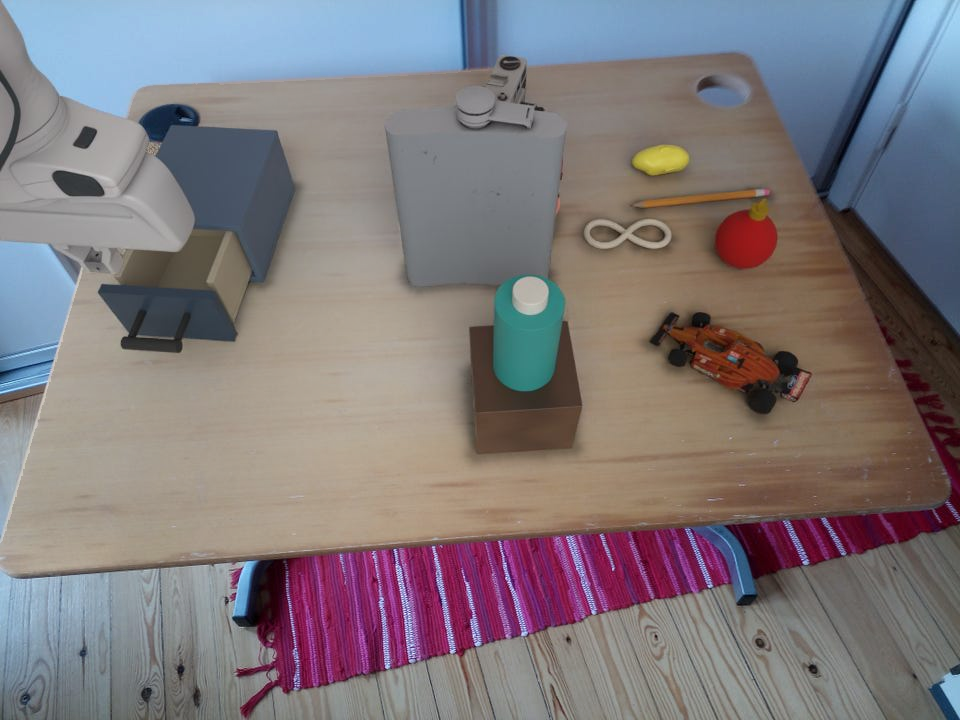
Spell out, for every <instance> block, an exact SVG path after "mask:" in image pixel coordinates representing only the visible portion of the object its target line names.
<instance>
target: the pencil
mask: <svg viewBox="0 0 960 720" xmlns="http://www.w3.org/2000/svg"><path fill="white" fill-rule="evenodd" d="M770 193H771V190H770V188H760V189H759V188H758V189H757V188H756V189H749V190H748V189H747V190H737V191H729V192H727V191H726V192H717V193H707V194H697V195H688V196H676V197H669V198H668V197H667V198H657V199H646V200H642V201H639V202H635V203H634V204H630V205H629V206H630V207H634V208H641V209H648V208H649V209H650V208H658V207H659V208H660V207H669V206H678V205H688V204H690V205H691V204H699V203H709V202H718V201H729V200H737V199H738V200H740V199H749V198H758V197H767V196H770Z"/></svg>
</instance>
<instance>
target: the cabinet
mask: <svg viewBox="0 0 960 720" xmlns="http://www.w3.org/2000/svg"><path fill="white" fill-rule="evenodd" d="M165 134H166V135H165V136H164V138H163V140H162V142H161V144H160V146H159V148H158V150H157V152H156V154H155V155H154V156H155V157H157V158H158V159H159V160H161V161H162V162H163V163H164V164H165V165H166V167H167V168H168V169H169V170H170V172H171V173H172V175H173V176H174V178H175V179H176V181H177V182H178V184H179V186H180V188H181V189H182V191H183V193H184V195H185V196H186V198H187V200H188V202H189V204H190V206H191V208H192V210H193V213H194V216H195V222H194V226H193V229H203V230H221V231H236V233H237V235H238V238H239V240H240V242H241V244H242V247H243V249H244V251H245V253H246V256H247V258H248V260H249V262H250V265H251V267H252V269H253V270H252V273H251V276H250V279H249V281H248V282H254V283H255V282H256V283H264V282H265V279H266V277H267V274H268V271H269V268H270V264H271V262H272V259H273V256H274V253H275V250H276V248H277V245H278V241H279V238H280V235H281V232H282V230H283V227H284V224H285V220H286V218H287V214H288V212H289V208H290V205H291V202H292V199H293V197H294V194H295V191H296V186H295V184H294V181H293V176H292V174H291V171H290V168H289V165H288V161H287V158H286V155H285V152H284V148H283V145H282V142H281V138H280V136H279V132H278V130H277V129H260V128H259V129H258V128H257V129H256V128H238V127H237V128H236V127H218V126H217V127H216V126H202V125H201V126H199V125H179V124H178V125H177V124H171V125H170V126H169V129H168V130H167V132H166V133H165Z"/></svg>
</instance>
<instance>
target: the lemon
mask: <svg viewBox="0 0 960 720" xmlns="http://www.w3.org/2000/svg"><path fill="white" fill-rule="evenodd" d="M690 159H691V158H690V155H689V153H688V152H687V151H686V150H685V149H684V148H682V146H678V145H674V144H658V145H654V146H649V147H647V148H644V149H642V150H640V151H638V152H637V153H636V154H635V155H634V156H633V158H632V160H631V164H632V166H633V167H634V168H635V169H637V170H639V171H641V172H644V173H646V174H647V175H649V176H658V175H662V174H670V173H677V172H680V171H682V170H684V169H685V168H686V167H687V166H688V165H689V163H690Z"/></svg>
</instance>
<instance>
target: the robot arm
mask: <svg viewBox="0 0 960 720" xmlns="http://www.w3.org/2000/svg"><path fill="white" fill-rule="evenodd" d="M149 144H150V137H149V135H148V132H147V130H145V128H144V127H143V126H142V124H140V123H139V122H136V121H135V120H133V119H129V118H124V117H122V116H119V115H115V114H113V113H109V112H105V111H102V110H99V109H97V108H94V107H92V106H88V105H86V104H84V103H82V102H79V101H77V100H74V99H72V98H70V97H68V96H63V95H60V94H59V92H58V90H57V89H56V87H55V85H53V83H52V81H51V80H50V79H49V78H48V77H47V76H46V75H45V74H44V73H43V72H41V71H40V70H39V69H38V68H37V66H36V65H35V64H34V62H33V61H32V59H31V57H30V55H29V52H28V50H27V46H26V42H25V38H24V36H23V34H22V32H21V29H20V28H19V27H18V25H17V24H16V22H15V20H14V19H13V17H12V15H11V14H10V12H9V10H8V8H6V6H5V4H4V3H3V2H2V0H0V242H9V243H10V242H11V243H24V244H28V243H29V244H41V245H42V244H43V245H51V246H52V248H53V249H54V250H56V251H58V252H59V253H61V254H62V255H65V256H66V257H68V258H70V259H71V260H73V261H75V262H77V263H78V264H79V266H81V268H82V269H83V270H84V272H86V273H98V274H110V275H115V274H119V273H120V271H121V269H122V267H123V265H124V260H123V256H122V254H121V253H120V252H119V250H118V249H123V250H127V249H136V250H152V251H167V252H178V251H180V250H181V249H182V248H183V246H184V245H185V244H186V242H187V240H188V238H189V236H190V234H191V232H192V229H193V226H194V222H195V216H194V213H193V210H192V208H191V206H190V204H189V202H188V200H187V198H186V196H185V195H184V193H183V191H182V189H181V188H180V186H179V184H178V182H177V181H176V179H175V178H174V176H173V175H172V173H171V172H170V170H169V169H168V168H167V167H166V165H165V164H164V163H163V162H162V161H161V160H159V159H158V158H157V157H155V156H156V155H153V154H152V153H150V152H148V151H147V150H148V147H149Z"/></svg>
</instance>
